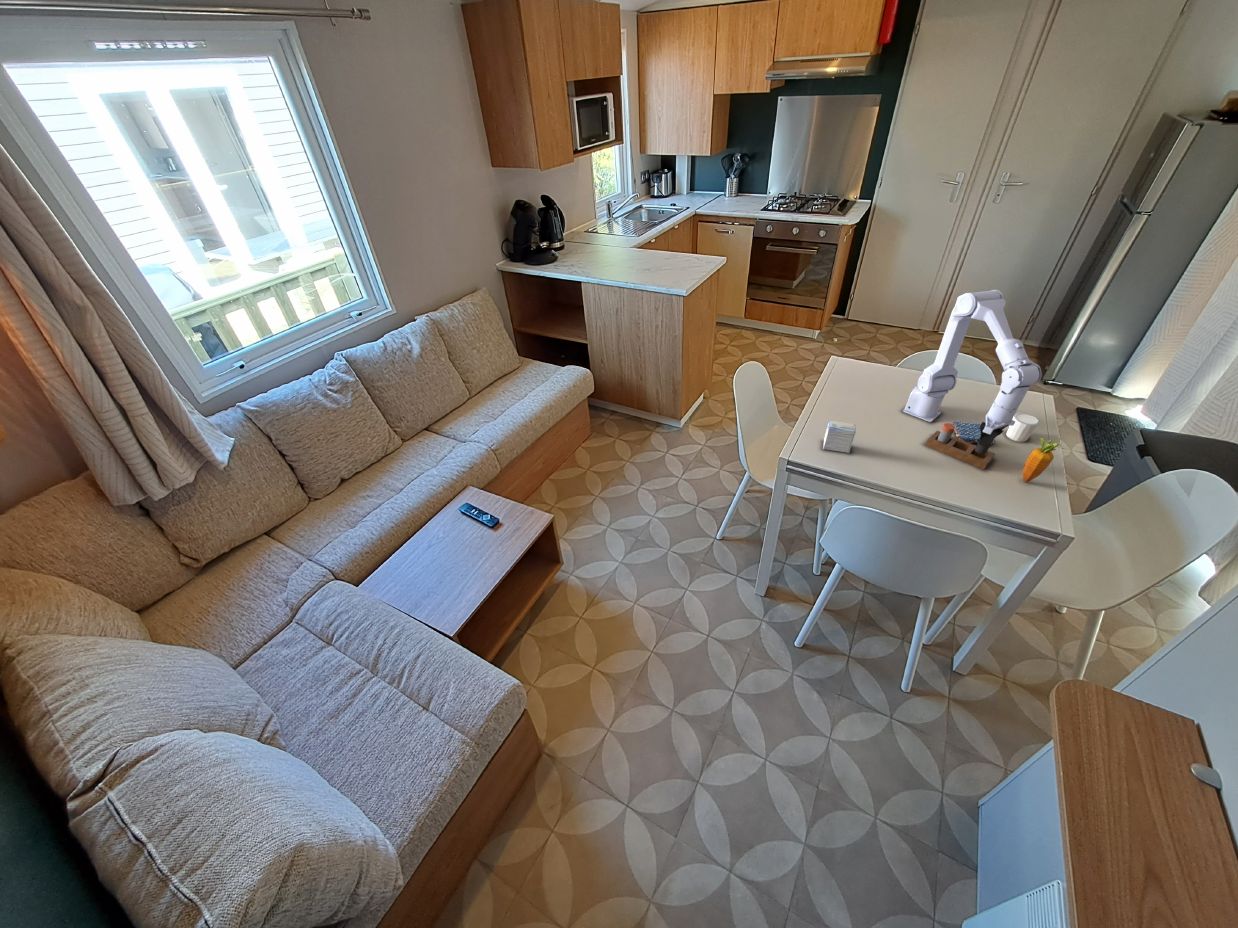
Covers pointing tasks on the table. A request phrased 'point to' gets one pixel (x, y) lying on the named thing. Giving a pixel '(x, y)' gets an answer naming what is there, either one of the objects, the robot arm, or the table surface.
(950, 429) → the grey marker
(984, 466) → the marker stand
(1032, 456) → the carrot
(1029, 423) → the white cylinder
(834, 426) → the medicine box
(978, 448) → the cylinder
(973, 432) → the woven mat
